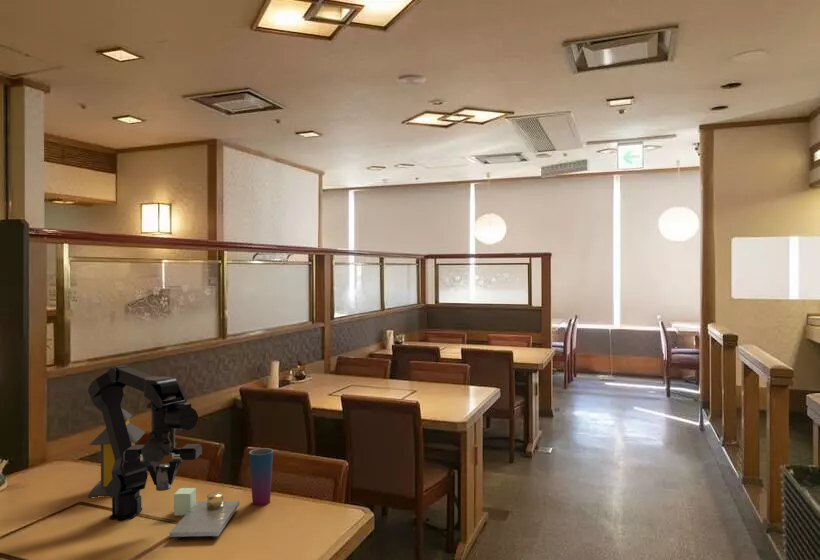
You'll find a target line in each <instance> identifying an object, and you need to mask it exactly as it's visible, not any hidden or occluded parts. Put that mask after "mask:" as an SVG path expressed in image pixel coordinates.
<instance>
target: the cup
mask: <svg viewBox="0 0 820 560" xmlns="http://www.w3.org/2000/svg"><path fill="white" fill-rule="evenodd" d="M248 455H249V470H250V484H251V487H250V488H251V498H252V501H251V503H252V505H254V506H256V507H257V506H258V507H261V506H266V505H268V504H270V503H271V497H272V496H271V495H272V494H271V493H272V491H271V490H272V476H273V475H272V473H273V461H274V460H273V457H274V450H273V449H272V448H268V447H262V448H254V449H252V450H250V451H249V452H248Z"/></svg>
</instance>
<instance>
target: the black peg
mask: <svg viewBox="0 0 820 560" xmlns="http://www.w3.org/2000/svg"><path fill="white" fill-rule="evenodd" d="M169 476H170V464H169V463H161V464H158V465H157V466H156V485H155V490H156V491H157V492H163V491H168V490H170V489H171V488H172V485H170V483H169Z"/></svg>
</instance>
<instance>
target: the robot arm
mask: <svg viewBox="0 0 820 560" xmlns="http://www.w3.org/2000/svg"><path fill="white" fill-rule="evenodd" d="M127 387H130V388H133V389H135V390H139V391H141V392H142V393H143V397H145V398H146V399H148V400H149V401H150V402H149V403H148V404H147V405H146V409H151V414H150V415H151V425H150V426H151V431H150V432H149V435H148V439H147V442H146V443H145V444H135V445H133V446H132V444H131V440H130V437H129V433H128V430H127V426H126V423H125V419H124V415H123V412H122V408H123V407H122V402H123V400H124V396H125V392H124V389H125V388H127ZM87 392H88V395H89V397H90V399H91V403H92V404H93V405H94V406H95V407H96V408H97V409H98V410H99V411H101V413H102V418H103V422H104V424H105V425H104V426H105V429H107V432H108V436H109V440H110V443H111V447H112V451H113V454H114V458H115V462H114V466H113V469H112V480H111V481H110V483H109V484H108V485H107V487H106V493H107V496H110V497H111V515H109V517H108V518H109V519H110V520H113V519H114V520H115V519H133V518H134V517H136V516H137V515H138V514H139V513H140V512H142V510H143V507H142V495H140V491H141V490H145V487H146V483H147V480H148V476H149V475H150V478H151V480H152V482H153V484H154V486H156V466H157V465H159V463H160V462H162V461H163V459H164V457H165V456H166V457H167V456H168V457H169V456H171V459H170V460H169V461H168V464H170V476H169V483H170V485H171V486H172V485H173V483H174V480H175V479H176V476H177V474H178V471H179V469H180V466H181V464H182V462H183V461H194V460H196V459H197V458H199V457H200V455H203V447H202V445H201V444H200V443H186V444H185V445H184V446H182V447H176V446H177V445H178V444H177V441H176V432H177V430H182V431H190V430H192V429H194V428H195V426H197V423H198V419H199V414H198V412H197V410H196V409H195V408H193V407H192V403H191V402H187V401H188V400H187V399H186V395H185V394H184V392H183V391H182V388H181V386H180V383H179V382H178V380H177V379H176V378H175V377H173V376H154V375H151V374H148V373H146V372H144V371H140V370H138V369H135V368H133V367H131V366H130V365H126V364H125V365H124V364H123V365H118V366H113V367H111V368H110V369H108V370H107V372H105V373H103V374H102V375H100V376H98V377H96V378H95V379H94V380H93V381H91V383H90V385H89V386H88V388H87ZM148 472H149V473H148Z"/></svg>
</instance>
